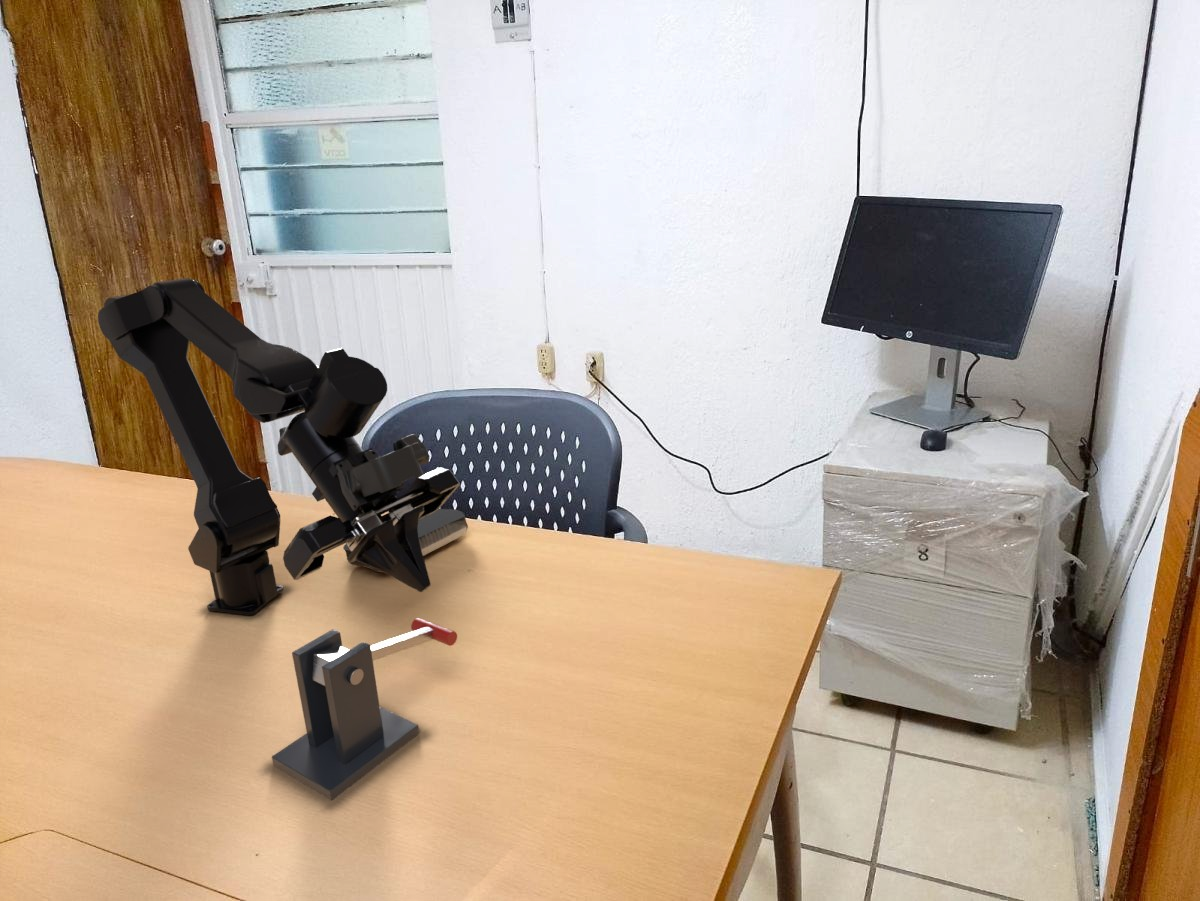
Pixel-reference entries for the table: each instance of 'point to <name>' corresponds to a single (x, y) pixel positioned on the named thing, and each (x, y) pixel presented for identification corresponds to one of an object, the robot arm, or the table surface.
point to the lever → (389, 645)
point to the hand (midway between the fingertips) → (426, 588)
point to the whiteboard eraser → (433, 531)
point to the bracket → (340, 720)
